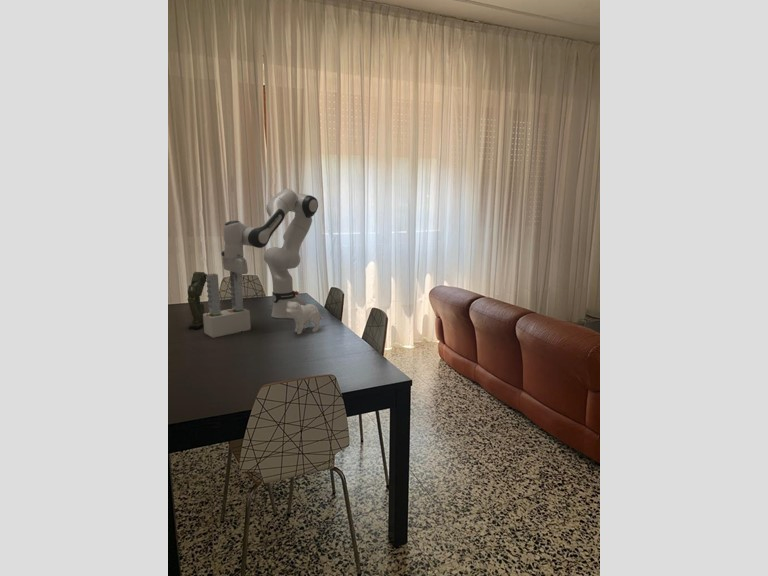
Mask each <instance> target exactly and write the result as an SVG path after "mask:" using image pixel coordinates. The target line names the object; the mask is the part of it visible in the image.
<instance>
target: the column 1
mask: <svg viewBox="0 0 768 576" xmlns="http://www.w3.org/2000/svg"><path fill="white" fill-rule="evenodd" d="M205 274H206V277H207V279H206V282H205V283H206V288H207V289H206V293H207V295H206V296H207V303H208V304H207V307H208V313H209V315H210V316H211V317H214V316H219V315H221V311H222V310H221V301H220V299H221V297H220V287H219V285H220V283H219V275H218V274H217V273H205Z"/></svg>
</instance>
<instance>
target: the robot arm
mask: <svg viewBox="0 0 768 576" xmlns="http://www.w3.org/2000/svg"><path fill="white" fill-rule="evenodd" d="M265 207H266V208H265V210H266V213H267V215H268V216H269V217H268V219H266V221H265V222H264V224H263V225H261V226H258V227H254V226H249V225H245V224H244V223H242V222H241V221H240V220H230V221H227V222H225V223H224V226H223V240H224V250H223V251H221V253H220V255H221V256H222V259H221V260H222V266H223V269H224V270H226V271H229V274H230V273H237V278H236V281H238V282H240V281H241V280H242V276H243V275H247V274H248V273H249V269H248V263H247V259H245V257H244V256H245V255H244V254H245V253H244V246H250V247H254V248H258V249H262V248H264V247H266V246H267V244H268V243H269V242H270V239H271V237H272V235H273V234H274V232H276V230H277V229H278V228H279V226H280V225H281V224H282V222H283V221H284V220H285V219H286V218H285V217H286V215H287V214H288V213H290V212H293V213H294V218H293V219H292V220H291V222H290V223H289V224H288V226H287V228H286V230H285V231H284V233H283V236H282V238H283V244H282V247H279V246H278V247H277V246H275V247H273V246H272V247H269V248H267V249H265V251H264V253H263V260H264V262H265V264H266V265H267V266H268V269H269V272H270V275H271V279H272V291H271V292H272V294H271V295H272V302H273V303H272V310H271V311H272V312H271V315H270V316H271V317H272V318H276V319H293V317H292V316H289V315H288V314H287V312H286V309H287V303H288V302H289V301H290V302H297V303H299V304H300V305H304V306H305V305H306V304H305V301H304V300H301V299H300V298H298V297H297V296H298V295H299V294H300V292H299V291H297V290H294V288H293V283H294V282H293V276H292V275H291V274H290V271H289V269H290V270H291V269H295V268H298V266H299V265H300V263H301V257H300V256H301V255H300V249H301V245H302V243H303V242H304V240H305V238H306V236H307V235H308V233H309V230H310V228H311V225H312V223H313V216H314V215H315V214H316V213H317V210H318V209H319V208H318V207H319V201H318V198H316V197H314V196H313V195H309V194H305V193H296V192H295V191H294V190H292V189H290V188H285V189H283V190H281V191H280V192H278V193H276V194H275V195H274V196H273V197H272V198H271V199H269V200H268V202H267V204H266V206H265Z"/></svg>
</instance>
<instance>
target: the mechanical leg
mask: <svg viewBox="0 0 768 576" xmlns="http://www.w3.org/2000/svg"><path fill="white" fill-rule="evenodd" d="M206 274H207V273H205V271H204V272H203V271H202V272H201V271H194V272H193V273H192V278H191V283H190V285H188V289H187V296H188V297H187V303H188V305H189V309H190V313H191V315H192V321H191V324H190V326H189V327H188V329H189V330H191V329H193V330H194V331H198V329H199V330H200V329H204V321H203V314H205V306H204V303H201V298H200V297H202V294H203V290H204V288H205V285H206V283H207V282H206V280H207V277H206Z"/></svg>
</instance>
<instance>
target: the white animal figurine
mask: <svg viewBox="0 0 768 576" xmlns="http://www.w3.org/2000/svg"><path fill="white" fill-rule="evenodd" d="M286 312H287V314H288V315H289V316H292V317H293V318H292V319H293V320H294V321H295V330H294V332H295V333H297V335H301V334H303V329H307V328H309V322H311V323H313V324H314V326H313V327H314V328H312V331H311V332H312V333H315V332H317V331H318V330H319V328H320V327H319V326H320V322H321V319H324V317H323V316H322V315H321V313H320V311H319V309H318V308H317V306H316V305H314V304H312V303H307V304H305V306H304V305H300V304H299V303H297V302H290V301H289V302H288V303H287V309H286Z"/></svg>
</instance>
